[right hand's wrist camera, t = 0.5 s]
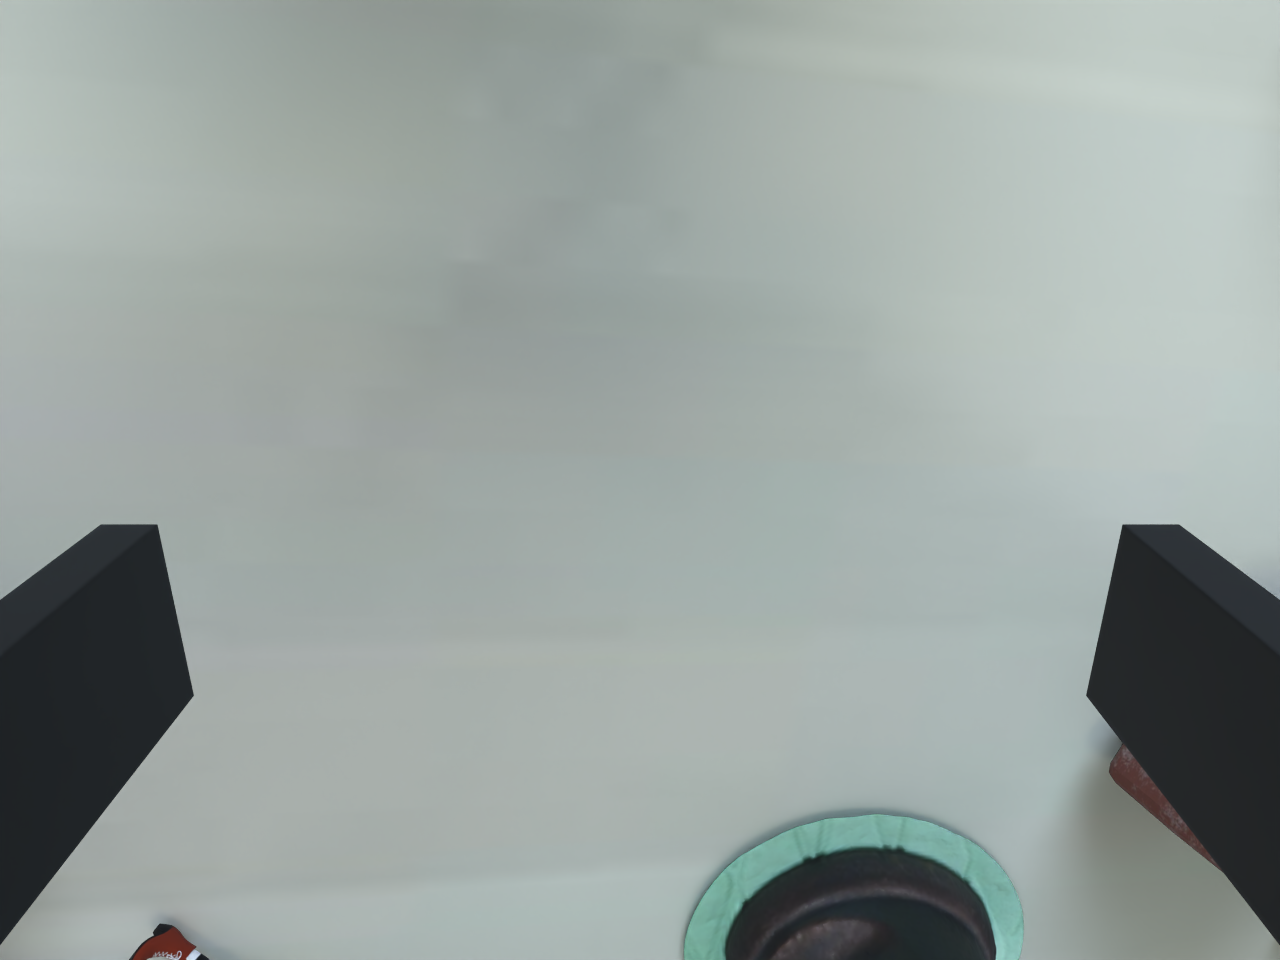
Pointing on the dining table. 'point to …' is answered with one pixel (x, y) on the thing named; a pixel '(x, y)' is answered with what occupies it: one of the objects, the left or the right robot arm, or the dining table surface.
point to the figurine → (167, 946)
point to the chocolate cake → (860, 897)
